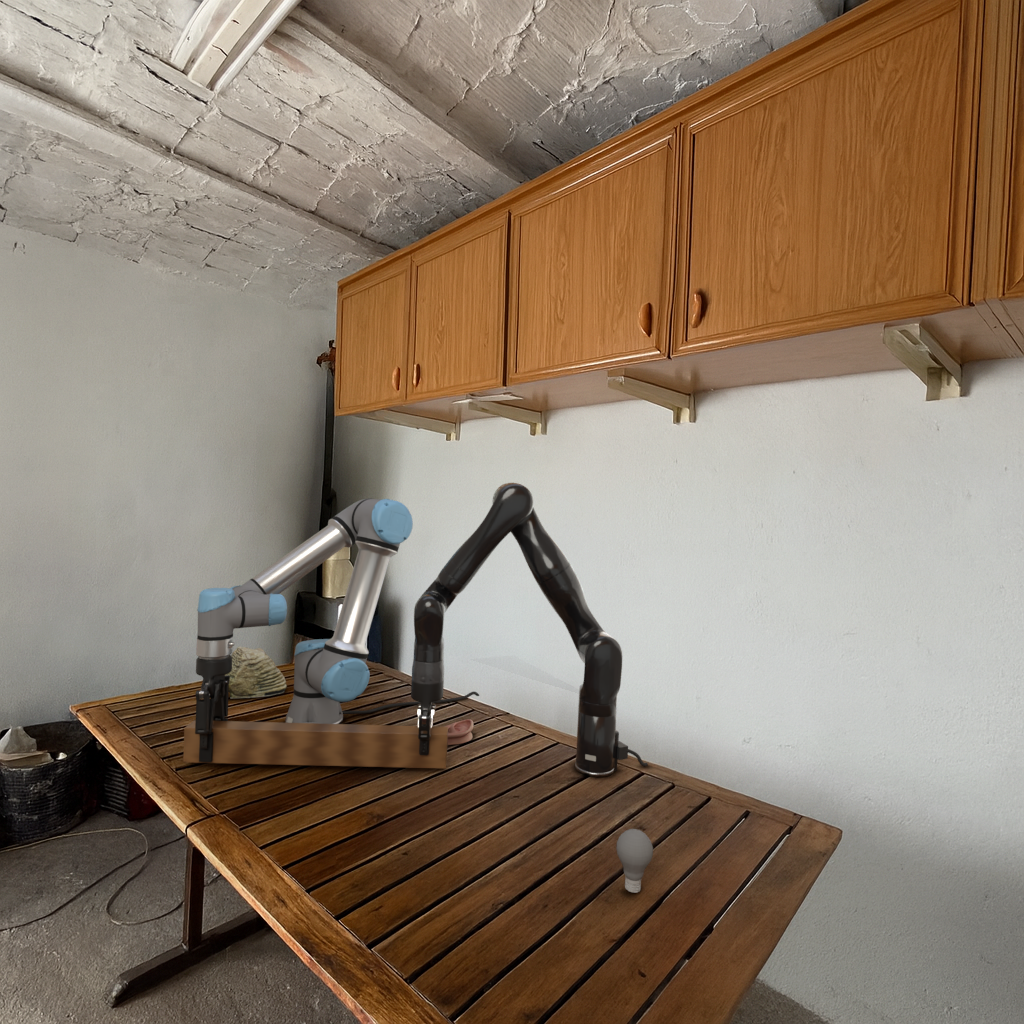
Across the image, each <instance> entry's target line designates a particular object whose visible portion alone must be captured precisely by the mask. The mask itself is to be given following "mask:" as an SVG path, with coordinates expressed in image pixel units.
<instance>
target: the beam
mask: <svg viewBox="0 0 1024 1024" xmlns="http://www.w3.org/2000/svg"><path fill="white" fill-rule="evenodd" d="M195 722H196V719H195V720H193V721H191V722H190V723H189V724H187V725H186V726H185V727H184V729H183V757H182V763H190V764H191V763H195V764H232V765H233V764H234V765H235V764H238V765H241V764H242V765H280V766H281V765H282V766H284V765H285V766H318V767H319V766H320V767H321V766H322V767H323V766H325V767H327V766H328V767H330V766H331V767H366V768H367V767H368V768H406V769H407V768H409V769H413V768H414V769H446V768H447V762H448V745H447V744H448V727H444V726H433V727H432V728H431V729H430V735H431V737H430V739H429V754H428V755H420V754H419V743H420V739H418V735H419V728H418V725H388V724H387V725H386V724H354V723H353V724H352V723H351V724H350V723H341V724H316V723H286V722H278V721H277V722H276V721H275V722H273V721H243V720H242V721H237V720H236V721H235V720H228V721H213V725H212V732H213V761H212V762H199V744H200V734H195ZM422 734H427V731H422Z"/></svg>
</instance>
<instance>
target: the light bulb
mask: <svg viewBox="0 0 1024 1024" xmlns="http://www.w3.org/2000/svg"><path fill="white" fill-rule="evenodd" d="M615 849H616V854H617V857H618V859H619V861H620V863H621V865H622V867H623V873H624V874H623V875H624V876H625V878H624V888H625V890H627V891H628V892H630V893H634V894H635V893H639V892H640V891H641V889H642V887H641V886H642V879H643V877H644V875H645V871H646V868H647V867H648V866H649V864H650V863H651V861H652V859H653V855H654V847H653V843H652V841H651V838H649V836H648V835H647V834H646V833H645V832H643V831H642V830H641V829H636V828H629V829H627V830H625V831H623V832H622V833H621V834H620V835H619V837H618V839H617V841H616V847H615Z"/></svg>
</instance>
